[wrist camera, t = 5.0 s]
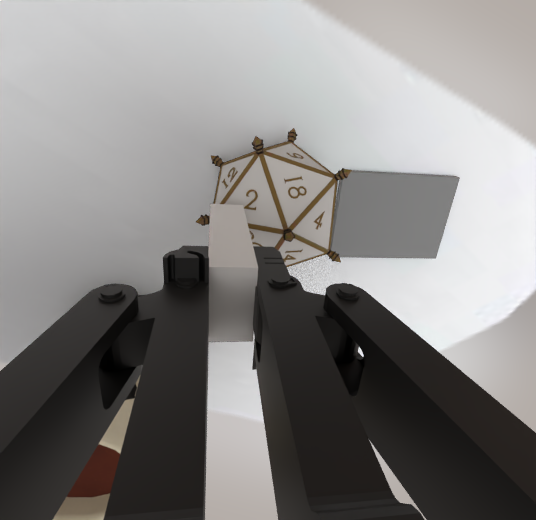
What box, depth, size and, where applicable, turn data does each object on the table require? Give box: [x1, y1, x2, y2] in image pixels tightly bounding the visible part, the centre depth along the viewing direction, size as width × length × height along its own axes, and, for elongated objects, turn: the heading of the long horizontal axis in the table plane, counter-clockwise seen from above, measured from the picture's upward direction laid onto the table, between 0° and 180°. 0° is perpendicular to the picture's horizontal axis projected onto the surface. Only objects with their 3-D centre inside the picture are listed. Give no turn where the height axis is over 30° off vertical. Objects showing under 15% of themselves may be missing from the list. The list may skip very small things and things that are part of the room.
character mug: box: [53, 377, 140, 520], centre depth 23 cm, size 11×7×13 cm, turn 88°
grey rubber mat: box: [331, 171, 460, 258], centre depth 28 cm, size 9×7×1 cm
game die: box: [196, 128, 352, 267], centre depth 21 cm, size 9×8×10 cm
